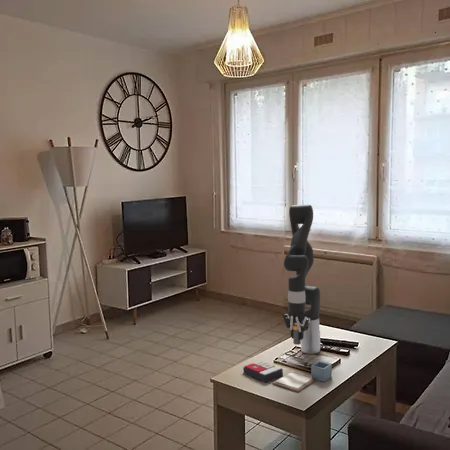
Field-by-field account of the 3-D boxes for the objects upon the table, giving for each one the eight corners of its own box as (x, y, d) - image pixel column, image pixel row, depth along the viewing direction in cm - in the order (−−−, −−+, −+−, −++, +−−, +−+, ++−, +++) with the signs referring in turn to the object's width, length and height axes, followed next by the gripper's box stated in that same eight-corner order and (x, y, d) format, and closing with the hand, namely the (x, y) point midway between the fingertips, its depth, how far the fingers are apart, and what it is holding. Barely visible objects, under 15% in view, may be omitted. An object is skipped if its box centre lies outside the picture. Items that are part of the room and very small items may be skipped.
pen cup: (318, 373, 224) (318, 361, 224) (331, 377, 220) (331, 364, 219) (311, 378, 219) (311, 365, 219) (324, 382, 215) (324, 369, 215)
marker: (296, 341, 221) (295, 323, 221) (302, 343, 219) (302, 325, 218) (291, 343, 219) (291, 325, 218) (298, 345, 217) (298, 327, 216)
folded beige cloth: (290, 373, 226) (290, 370, 226) (315, 380, 217) (315, 378, 217) (272, 384, 215) (272, 381, 215) (298, 392, 207) (298, 389, 207)
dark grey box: (260, 359, 235) (282, 367, 223) (261, 368, 235) (283, 376, 223) (242, 365, 228) (264, 374, 216) (243, 374, 229) (265, 383, 217)
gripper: (315, 301, 215) (315, 340, 217) (288, 296, 225) (288, 333, 226) (305, 304, 210) (305, 344, 211) (278, 299, 219) (279, 337, 221)
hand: (297, 338), depth 219 cm, fingers closed on marker, 3 cm apart
